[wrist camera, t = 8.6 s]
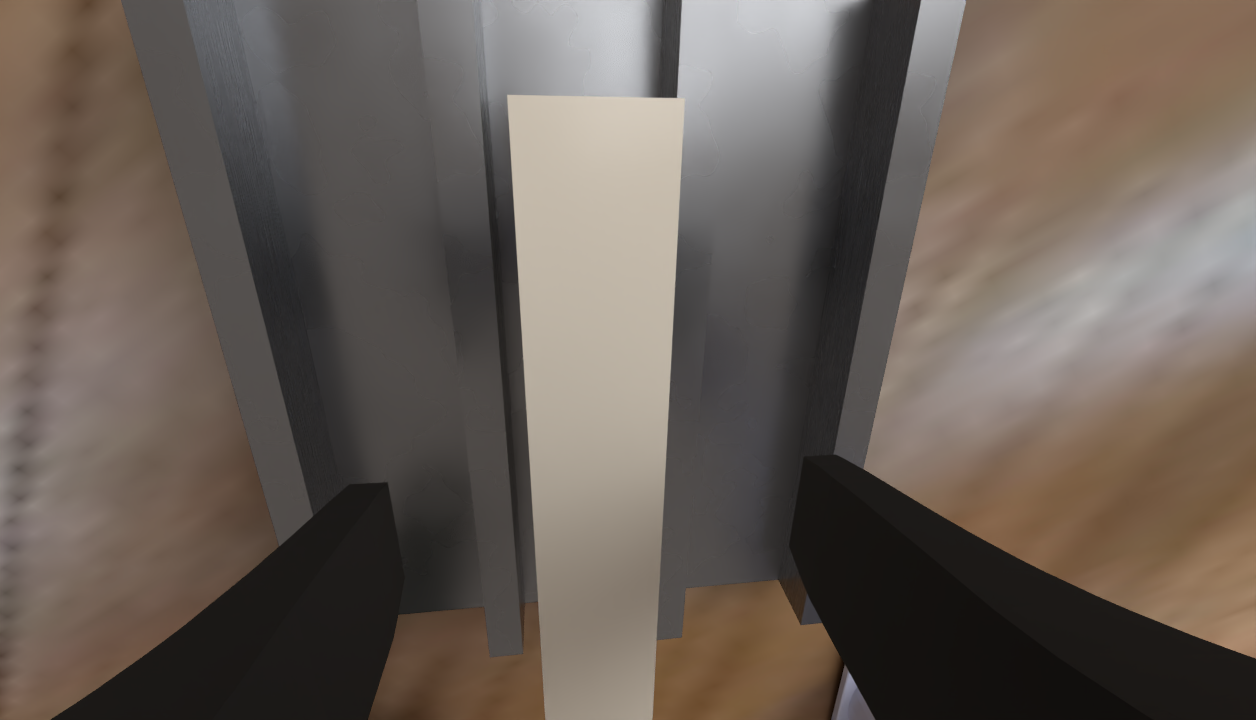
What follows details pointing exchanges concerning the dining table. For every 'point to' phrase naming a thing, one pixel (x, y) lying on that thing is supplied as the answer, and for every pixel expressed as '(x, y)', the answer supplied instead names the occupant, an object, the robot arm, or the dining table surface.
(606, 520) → the clay strip
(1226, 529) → the dining table surface
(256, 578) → the robot arm
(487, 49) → the grey grooved block
